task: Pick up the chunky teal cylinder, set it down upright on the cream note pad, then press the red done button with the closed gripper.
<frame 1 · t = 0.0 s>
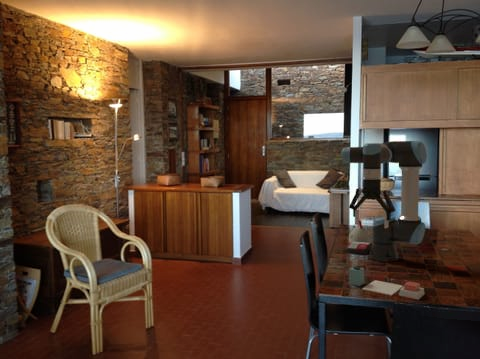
hand: (371, 226, 196), 28 cm above the table, fingers open, 13 cm apart
note pad: (382, 288, 197), on the table
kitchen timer: (360, 244, 277), on the table
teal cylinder: (356, 283, 204), on the table
done button: (411, 286, 188), point 4 cm above the table, slide at 0.0 cm
done button base: (411, 294, 188), on the table
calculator: (358, 251, 262), on the table
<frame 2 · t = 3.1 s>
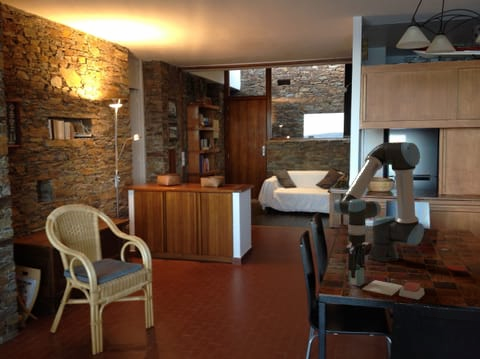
hand: (356, 282, 204), 0 cm above the table, fingers closed on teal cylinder, 5 cm apart
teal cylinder: (356, 283, 204), on the table, touching gripper
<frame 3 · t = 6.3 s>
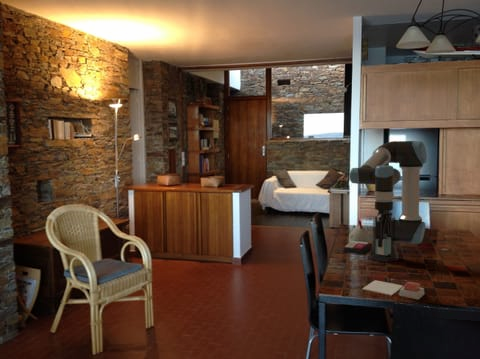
hand: (383, 252, 195), 16 cm above the table, fingers closed on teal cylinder, 5 cm apart
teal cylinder: (383, 253, 195), point 16 cm above the table, touching gripper
when the fingers open (2 cm above the table, at t = 9.8 s): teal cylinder stays where it is, resting on note pad.
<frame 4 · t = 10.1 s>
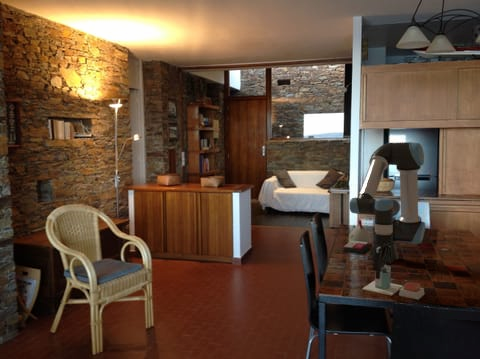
hand: (382, 282, 197), 3 cm above the table, fingers open, 9 cm apart
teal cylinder: (382, 287, 197), resting on note pad
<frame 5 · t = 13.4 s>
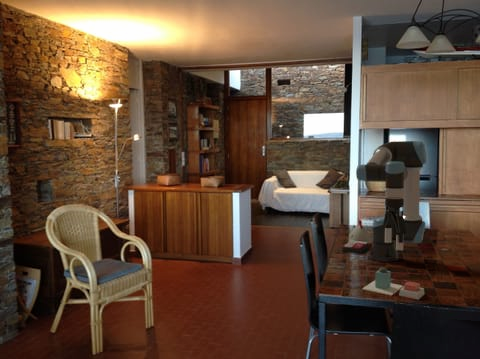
hand: (393, 246, 192), 20 cm above the table, fingers open, 13 cm apart
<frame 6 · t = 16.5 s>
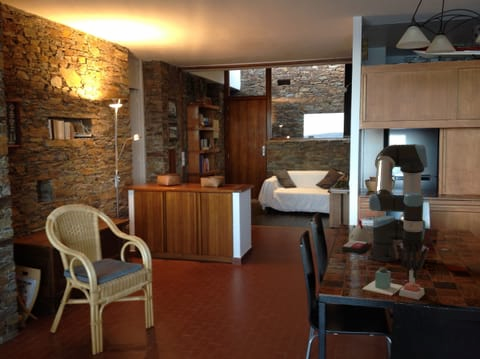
hand: (411, 284, 187), 5 cm above the table, fingers closed
done button: (411, 287, 188), point 3 cm above the table, slide at 0.5 cm, touching gripper
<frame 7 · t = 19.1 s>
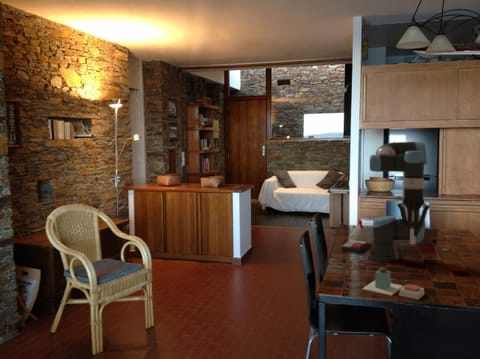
hand: (412, 243, 186), 22 cm above the table, fingers closed
done button: (411, 288, 188), point 3 cm above the table, slide at 1.1 cm
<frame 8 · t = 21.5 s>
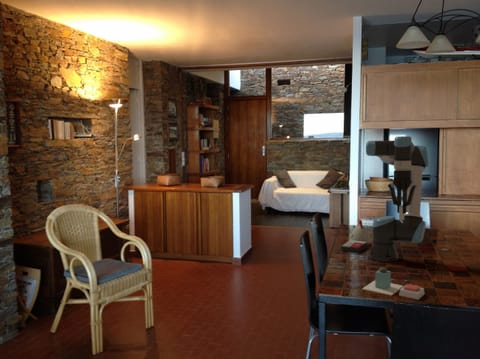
hand: (401, 219, 206), 28 cm above the table, fingers closed
at the end: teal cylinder inside the target area on the note pad (0.0 cm from its centre), point 0.5 cm above the note pad's base; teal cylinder tilted 0°; done button slide at 1.1 cm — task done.
